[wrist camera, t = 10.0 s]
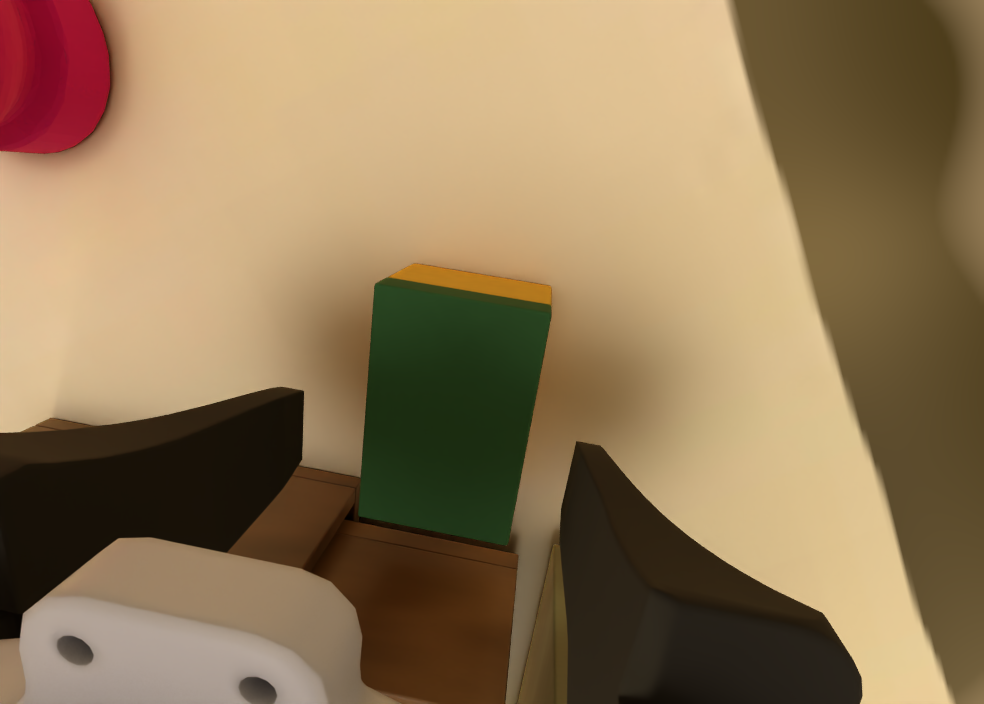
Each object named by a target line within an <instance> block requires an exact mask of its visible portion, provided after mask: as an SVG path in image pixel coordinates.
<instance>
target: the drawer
mask: <svg viewBox="0 0 984 704" xmlns="http://www.w3.org/2000/svg"><path fill="white" fill-rule="evenodd" d="M518 558H519V555H518V554H514V553H509V552H504V551H499V550H494V549H489V548H484V547H479V546H474V545H469V544H464V543H459V542H454V541H449V540H444V539H439V538H434V537H429V536H424V535H419V534H414V533H409V532H404V531H399V530H394V529H389V528H384V527H379V526H374V525H369V524H364V523H359V522H354V521H349V520H343V522H342V523H341V525H340V527H339V528H338V530H337V531H336V533H335V534H334V536H333V538H332V539H331V541H330V542H329V544H328V546H327V547H326V549H325V550H324V552H323V553H322V555H321V557H320V558H319V560H318V561H317V563H316V565H315V566H314V568H313V569H312V571H311V572H310V573H312V574H314V575H317V576H319V577H321V578H324V579H326V580H328V581H331V582H332V583H333V584H334V585H335V587H336V588H337V589H338V590H339V591H340V592H341V593H342V594H343V595H344V596H345V597H346V598H347V599H348V601H349V602H350V603H351V604H352V605H353V606H354V607H355V609H356V613H357V617H358V621H359V625H360V629H361V633H362V647H361V659H360V672H361V680H362V682H363V683H364V684H365V685H366V686H368V687H370V688H372V689H374V690H376V691H378V692H380V693H382V694H384V695H385V696H387V697H389V698H391V699H393V700H395V701H397V702H399V703H401V704H505V700H506V689H507V678H508V667H509V656H510V645H511V634H512V623H513V612H514V601H515V590H516V579H517V569H518ZM567 669H568V635H567V619H566V608H565V597H564V586H563V576H562V565H561V553H560V545H557V544H554V546H553V548H552V553H551V557H550V561H549V566H548V570H547V575H546V579H545V584H544V588H543V593H542V597H541V601H540V606H539V610H538V615H537V619H536V624H535V628H534V633H533V637H532V641H531V646H530V650H529V655H528V659H527V664H526V668H525V673H524V677H523V681H522V686H521V690H520V695H519V699H518V704H567Z"/></svg>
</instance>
